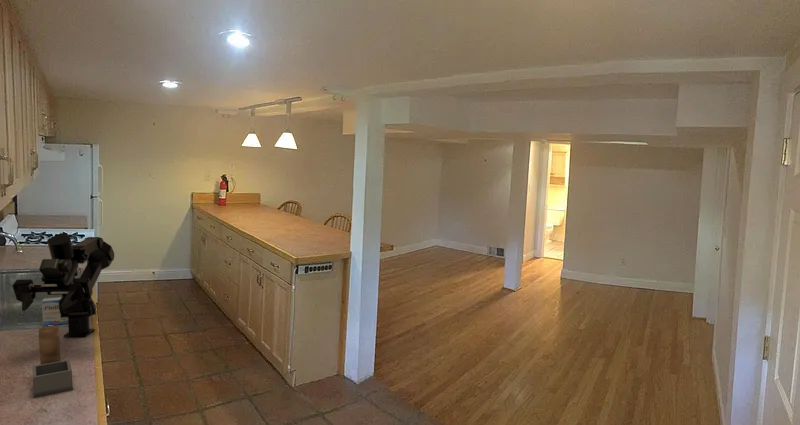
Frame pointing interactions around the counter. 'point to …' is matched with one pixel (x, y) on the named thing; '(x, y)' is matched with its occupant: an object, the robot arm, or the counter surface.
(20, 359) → the counter surface
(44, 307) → the medicine box
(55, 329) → the walnut peg
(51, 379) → the socket cup
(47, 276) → the robot arm
